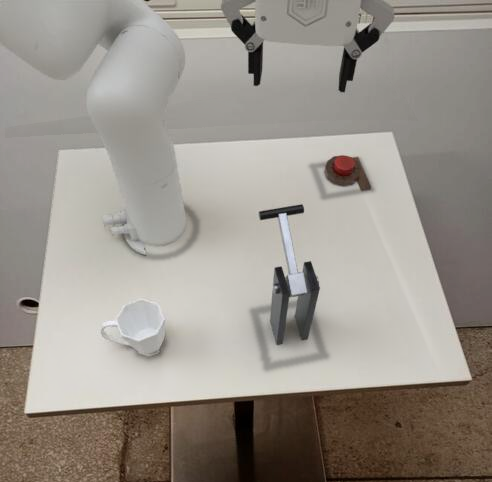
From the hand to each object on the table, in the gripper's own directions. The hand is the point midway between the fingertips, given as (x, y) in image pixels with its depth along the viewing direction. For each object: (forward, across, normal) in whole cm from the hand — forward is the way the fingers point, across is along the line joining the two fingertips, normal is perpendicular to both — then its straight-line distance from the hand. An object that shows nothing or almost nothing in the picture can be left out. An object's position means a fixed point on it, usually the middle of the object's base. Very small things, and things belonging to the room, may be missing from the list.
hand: (299, 81), depth 57 cm
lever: (+18, +1, -11) cm, 21 cm away
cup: (+33, -21, -20) cm, 44 cm away
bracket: (+33, +2, -15) cm, 36 cm away
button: (+31, +10, +19) cm, 37 cm away
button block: (+33, +10, +19) cm, 39 cm away
